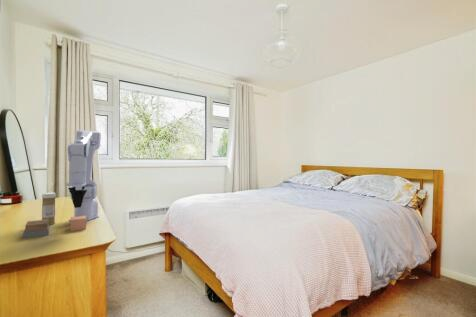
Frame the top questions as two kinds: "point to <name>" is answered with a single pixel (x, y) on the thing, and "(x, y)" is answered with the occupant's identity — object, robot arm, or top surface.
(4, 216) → the top surface
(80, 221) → the block
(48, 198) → the sprinkles bottle
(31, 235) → the tower base
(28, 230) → the tower top
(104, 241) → the top surface
